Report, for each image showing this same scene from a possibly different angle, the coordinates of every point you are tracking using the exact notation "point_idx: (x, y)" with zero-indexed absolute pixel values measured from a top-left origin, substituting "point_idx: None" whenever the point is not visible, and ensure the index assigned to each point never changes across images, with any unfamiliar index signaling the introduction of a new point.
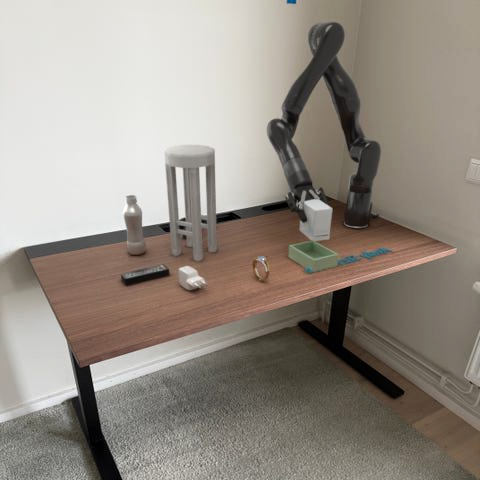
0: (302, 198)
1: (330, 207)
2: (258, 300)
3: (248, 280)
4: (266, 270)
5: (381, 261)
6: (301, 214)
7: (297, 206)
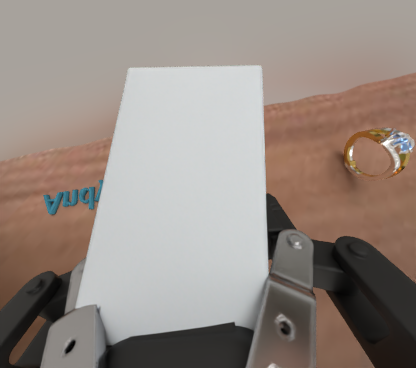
0: (294, 349)
1: (129, 81)
2: (368, 100)
3: (372, 172)
4: (367, 130)
5: (93, 165)
6: (281, 213)
7: (326, 268)
